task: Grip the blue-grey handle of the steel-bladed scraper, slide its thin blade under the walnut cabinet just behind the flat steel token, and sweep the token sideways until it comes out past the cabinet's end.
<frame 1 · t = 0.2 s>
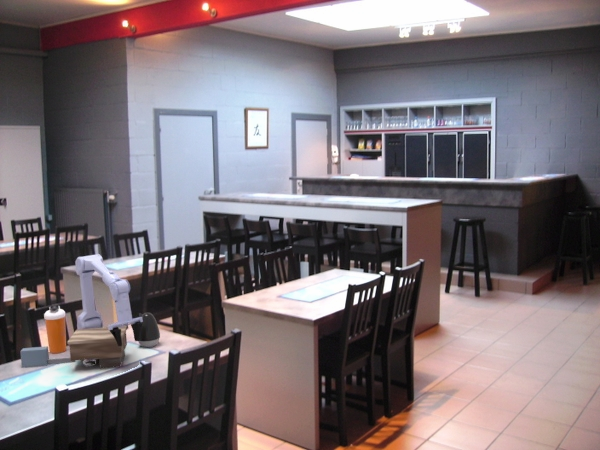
hand: (128, 343, 252), 11 cm above the table, tool pointing down, fingers open, 7 cm apart
steel token: (89, 364, 261), on the table
cabinet: (100, 362, 261), on the table
shaker bottle: (58, 351, 279), on the table
scraper: (35, 364, 262), on the table
black egg-shaped piece: (149, 345, 282), on the table
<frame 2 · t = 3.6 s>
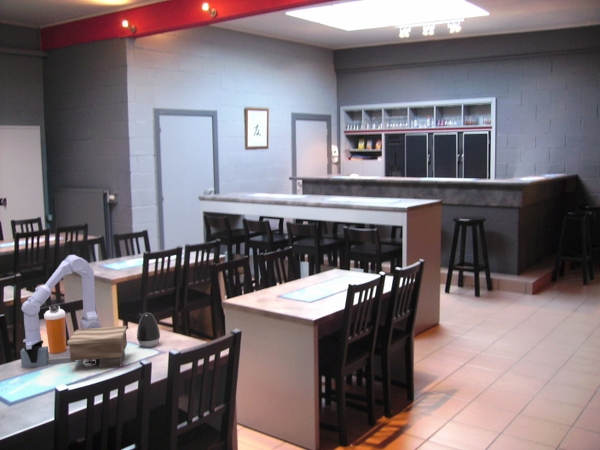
hand: (35, 360, 261), 2 cm above the table, tool pointing down, fingers closed on scraper, 4 cm apart
scraper: (35, 364, 262), on the table, touching gripper
everything else where it was.
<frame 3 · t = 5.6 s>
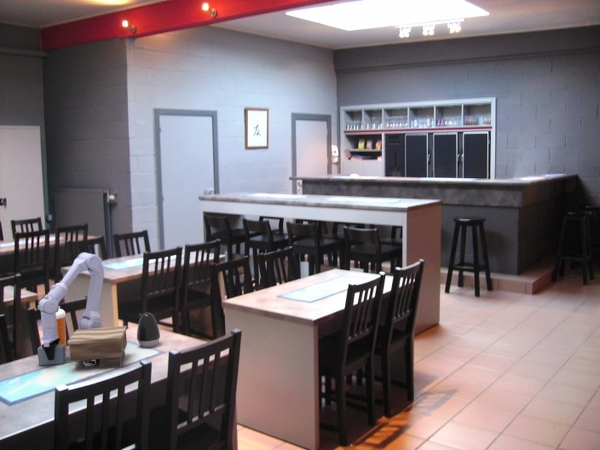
hand: (52, 358, 262), 2 cm above the table, tool pointing down, fingers closed on scraper, 4 cm apart
scraper: (52, 362, 262), on the table, touching gripper
everything else where it was.
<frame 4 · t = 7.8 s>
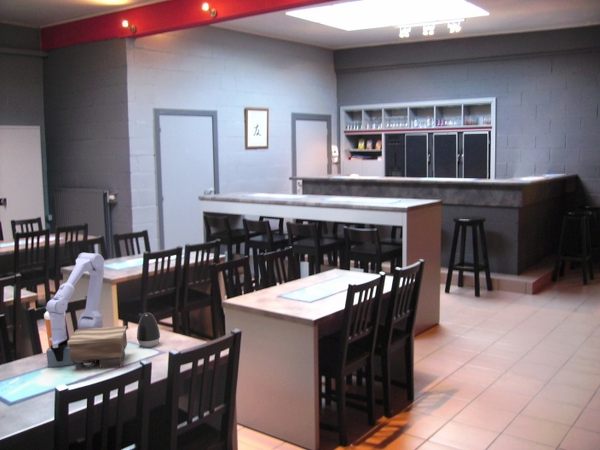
hand: (61, 359, 260), 2 cm above the table, tool pointing down, fingers closed on scraper, 4 cm apart
steel token: (89, 364, 260), on the table, touching scraper
scraper: (61, 364, 261), on the table, touching gripper, steel token
everything else where it was.
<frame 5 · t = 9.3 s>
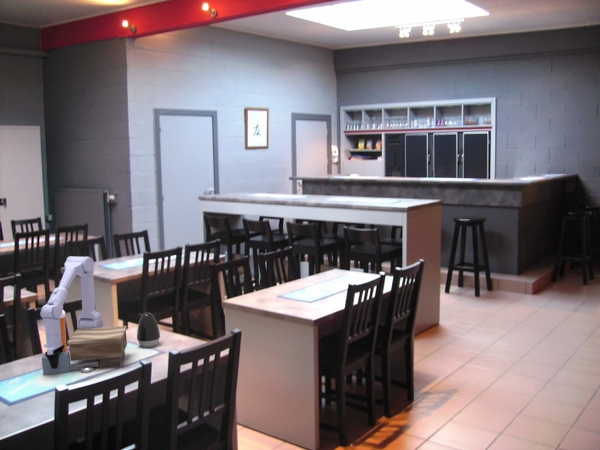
hand: (56, 366, 252), 2 cm above the table, tool pointing down, fingers closed on scraper, 4 cm apart
steel token: (87, 370, 253), on the table, touching scraper
scraper: (57, 371, 252), on the table, touching gripper, steel token
everything else where it was.
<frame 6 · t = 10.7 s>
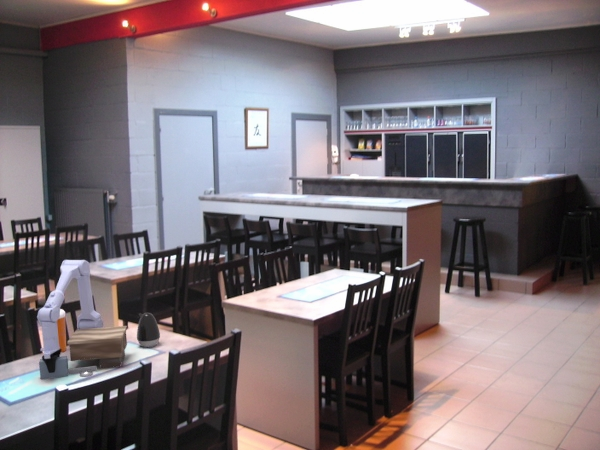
hand: (53, 370, 247), 2 cm above the table, tool pointing down, fingers closed on scraper, 4 cm apart
steel token: (86, 375, 248), on the table
scraper: (54, 375, 248), on the table, touching gripper
everything else where it was.
when the fingers open (3 cm above the table, at t = 12.0 s): scraper stays where it is, on the table.
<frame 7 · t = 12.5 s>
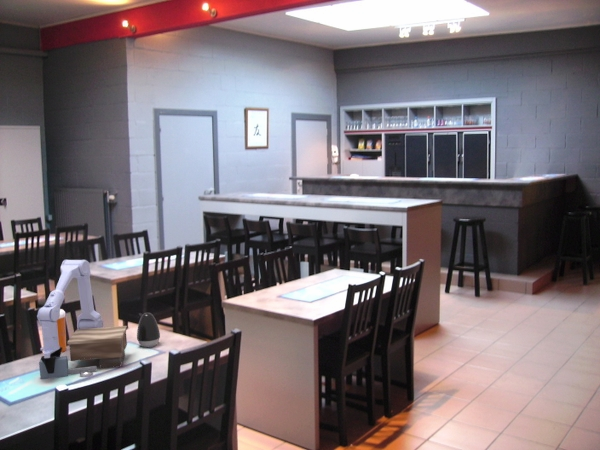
hand: (53, 369, 247), 3 cm above the table, tool pointing down, fingers open, 7 cm apart
scraper: (54, 375, 248), on the table
everything else where it was.
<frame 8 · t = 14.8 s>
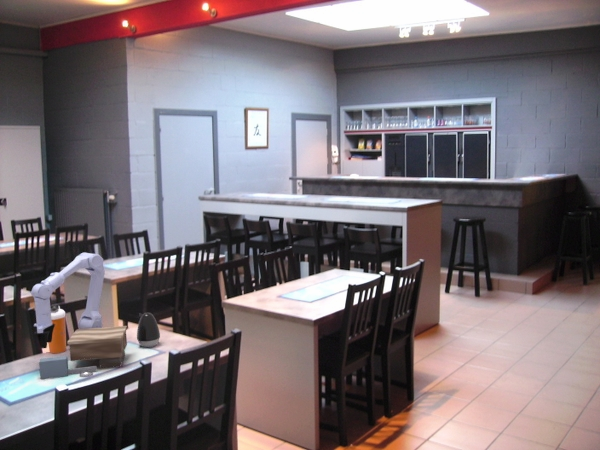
hand: (46, 345, 257), 9 cm above the table, tool pointing down, fingers open, 7 cm apart
nothing on the table moved.
at the end: steel token inside the target area (2.3 cm from its centre), on the table; steel token tilted 0°; the gripper is holding nothing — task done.
